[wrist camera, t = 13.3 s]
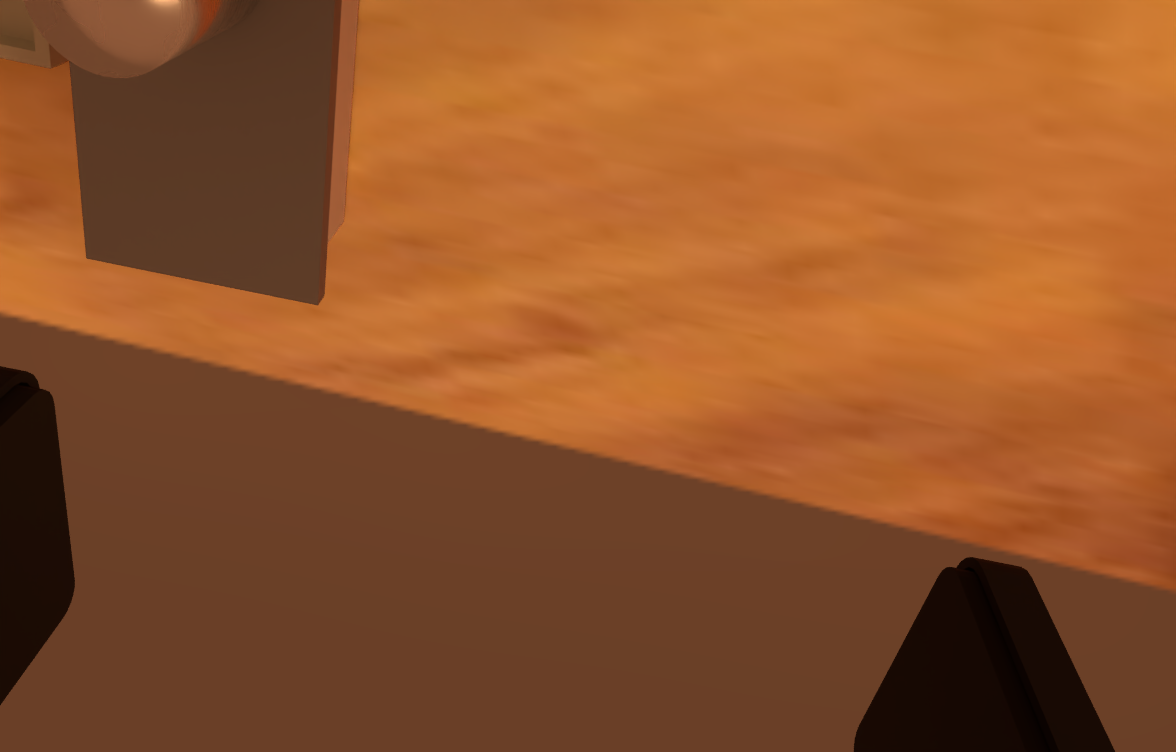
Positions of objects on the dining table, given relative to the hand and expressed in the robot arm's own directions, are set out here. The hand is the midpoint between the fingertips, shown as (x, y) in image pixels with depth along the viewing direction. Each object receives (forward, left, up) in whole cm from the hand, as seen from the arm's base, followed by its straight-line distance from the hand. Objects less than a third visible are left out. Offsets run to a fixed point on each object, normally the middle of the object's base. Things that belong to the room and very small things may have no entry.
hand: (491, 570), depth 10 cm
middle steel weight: (+6, -11, -23) cm, 26 cm away
